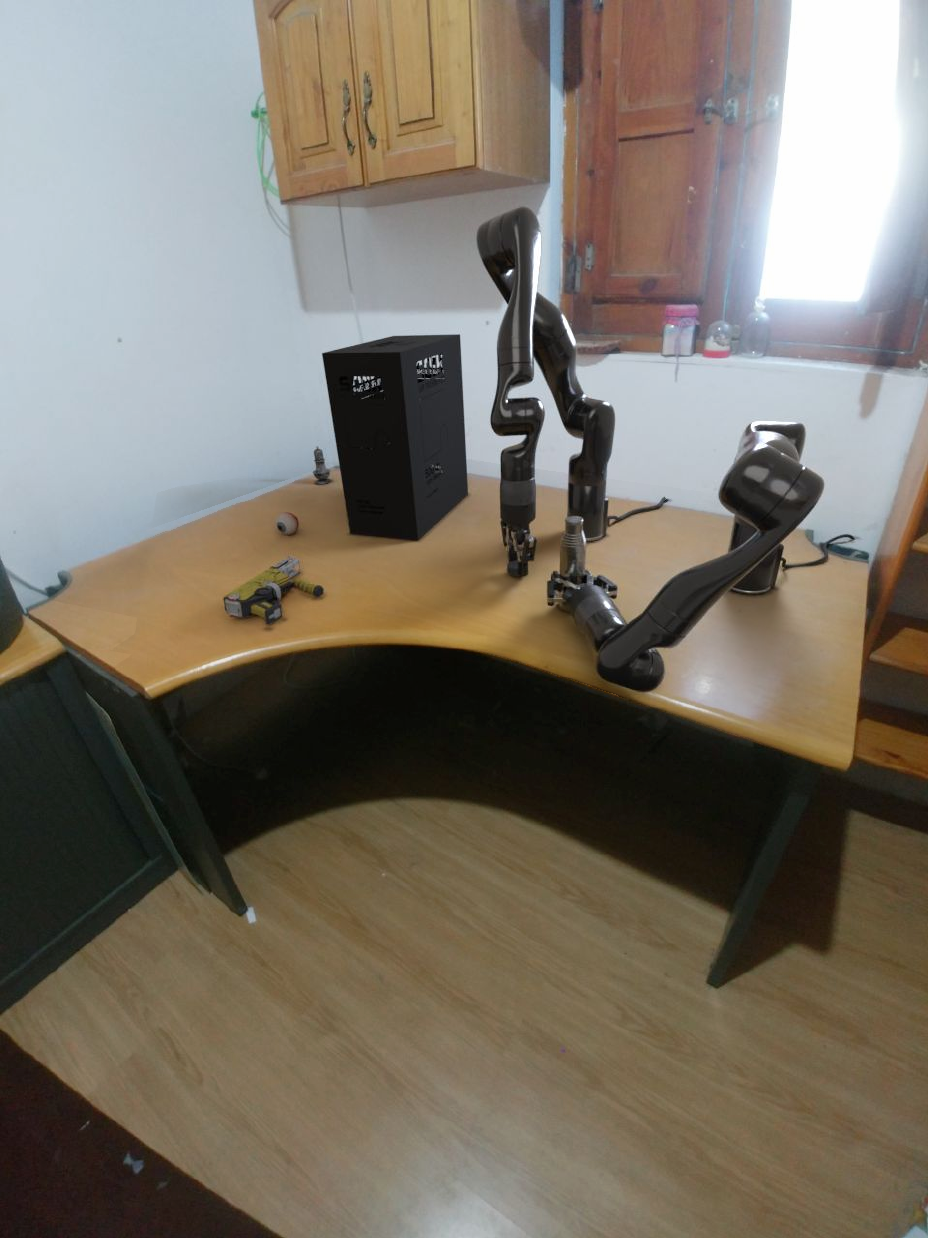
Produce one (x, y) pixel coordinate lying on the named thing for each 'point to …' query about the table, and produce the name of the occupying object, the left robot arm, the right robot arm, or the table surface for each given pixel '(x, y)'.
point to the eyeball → (287, 523)
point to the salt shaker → (320, 468)
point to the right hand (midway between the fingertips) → (567, 573)
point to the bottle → (572, 553)
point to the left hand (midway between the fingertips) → (518, 571)
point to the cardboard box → (399, 432)
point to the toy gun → (267, 592)
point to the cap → (513, 567)
